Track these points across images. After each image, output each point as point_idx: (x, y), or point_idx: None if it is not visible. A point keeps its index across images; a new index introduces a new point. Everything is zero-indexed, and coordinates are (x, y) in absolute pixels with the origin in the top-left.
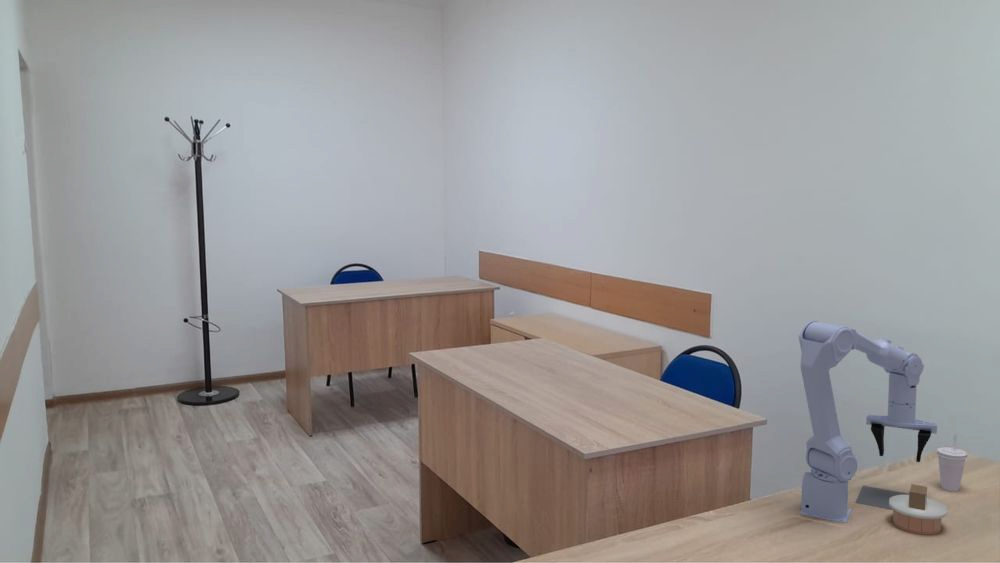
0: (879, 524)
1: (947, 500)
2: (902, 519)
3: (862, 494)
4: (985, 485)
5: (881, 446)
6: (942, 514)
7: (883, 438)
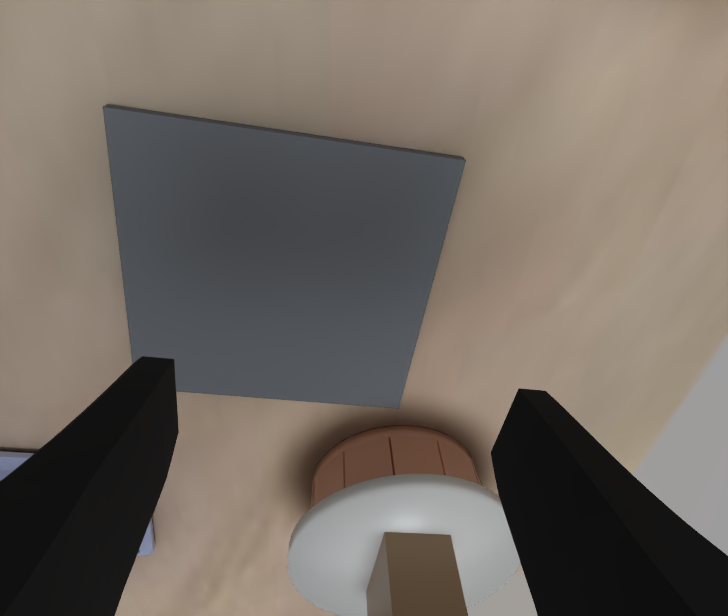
0: (265, 508)
1: (629, 140)
2: None
3: (141, 273)
4: None
5: (127, 559)
6: (486, 596)
7: (79, 521)
